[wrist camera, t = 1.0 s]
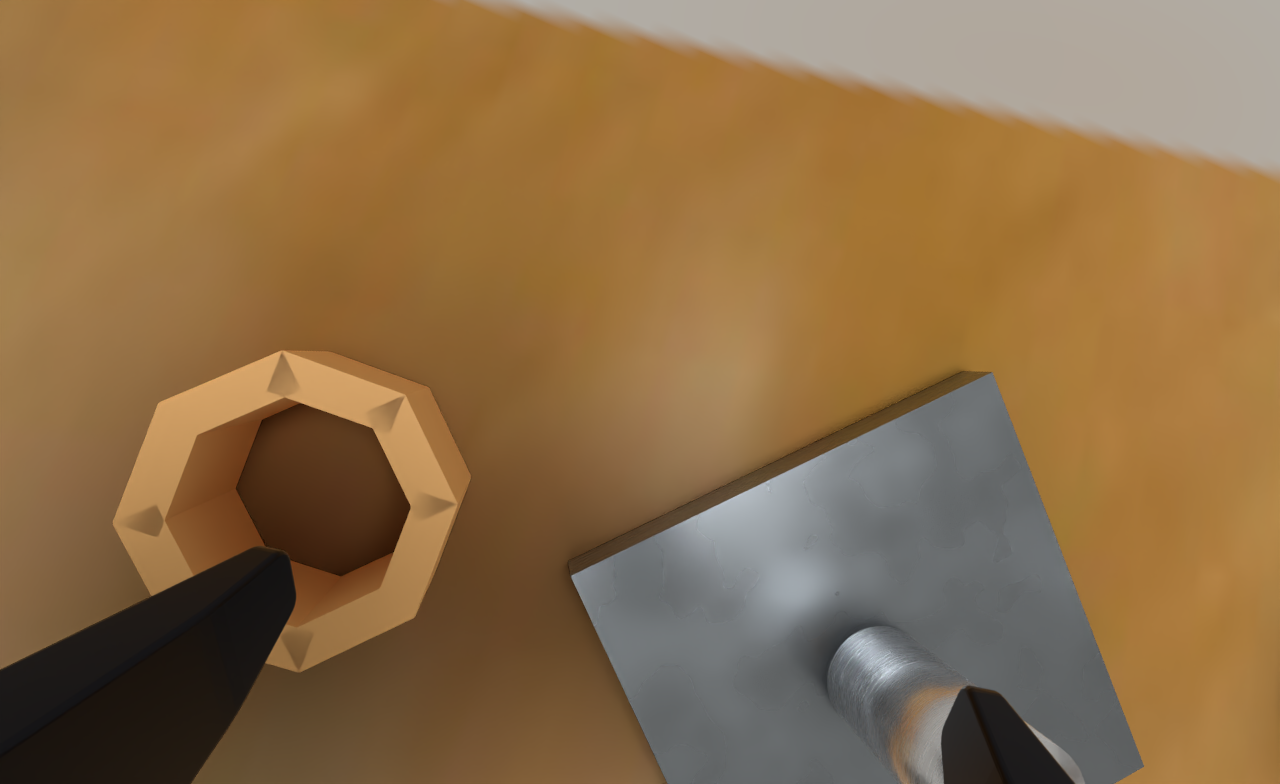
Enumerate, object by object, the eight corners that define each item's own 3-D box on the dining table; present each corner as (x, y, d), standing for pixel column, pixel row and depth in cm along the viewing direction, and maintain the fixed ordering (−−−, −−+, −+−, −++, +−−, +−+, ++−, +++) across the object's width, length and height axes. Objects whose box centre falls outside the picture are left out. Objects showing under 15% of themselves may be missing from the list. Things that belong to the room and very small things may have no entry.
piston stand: (747, 945, 23) (857, 1247, 15) (568, 561, 22) (588, 677, 14) (1107, 742, 25) (1374, 920, 17) (963, 371, 23) (1181, 378, 16)
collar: (274, 645, 21) (214, 713, 17) (159, 424, 20) (67, 440, 16) (501, 538, 22) (493, 579, 18) (398, 322, 21) (366, 314, 17)
